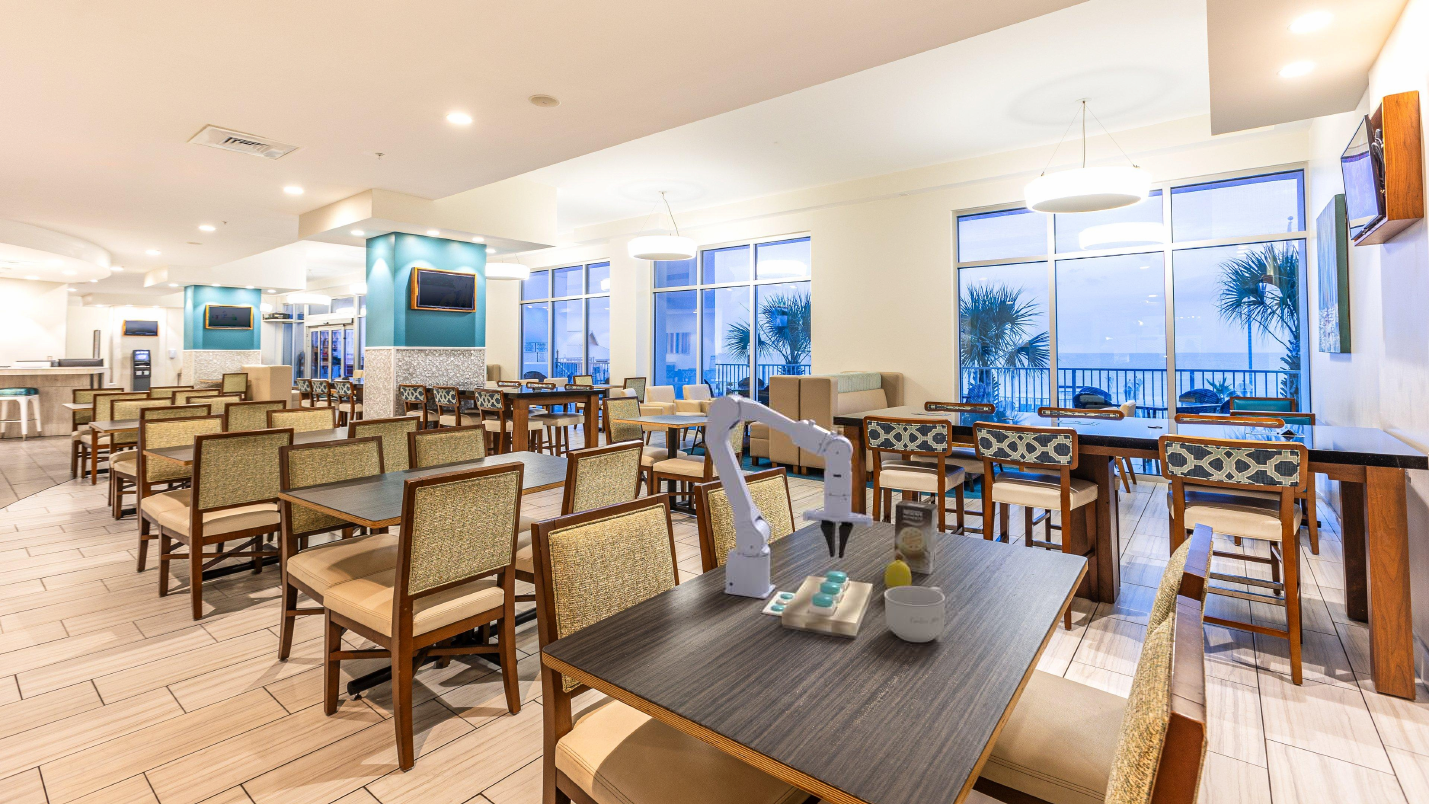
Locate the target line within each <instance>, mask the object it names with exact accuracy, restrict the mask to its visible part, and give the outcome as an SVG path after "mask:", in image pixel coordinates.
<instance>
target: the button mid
mask: <svg viewBox="0 0 1429 804" xmlns="http://www.w3.org/2000/svg"><path fill="white" fill-rule="evenodd" d="M818 593H825V594H829V595H831V596H833V600H835V601H836V603H840V602H841V600H842V598H843V589H841V588H840V585H839V584H838V583H835V582H822V583H821V584H820V589H819V591H818V592H817V594H818Z"/></svg>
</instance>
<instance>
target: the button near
mask: <svg viewBox="0 0 1429 804" xmlns="http://www.w3.org/2000/svg"><path fill="white" fill-rule="evenodd" d="M835 612H836V601H835V600H833V596H831V595H829V594H825V593H818V594H814V595H813V596H812V602H811V603H810V605H809V613H813V614H820V615H826V616H834V614H835Z"/></svg>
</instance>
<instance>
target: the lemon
mask: <svg viewBox="0 0 1429 804" xmlns="http://www.w3.org/2000/svg"><path fill="white" fill-rule="evenodd" d="M911 572H912V571H910V569H909V567H908V566H907V565H906V564H905V563H903V562H901V561H900V560H897V561H894V560H893V561H892V562H891V563H889V564H888V565H887V567H886V569H885V574H884V582H885V583H884V584H885V585H886V587H887V590H888V589H890V588H894V587H900V586H912V573H911Z"/></svg>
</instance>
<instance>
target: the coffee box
mask: <svg viewBox="0 0 1429 804" xmlns="http://www.w3.org/2000/svg"><path fill="white" fill-rule="evenodd" d="M938 507H939V505H938V504H936V503H935V504H934V503H929V502H923V501H913V500H907V499H901V500H899V501H898V502H897V503H896V504H895V513H894V514H895V516H894V517H895V518H894V520H895V521H894V543H893V544H894V550H893V552H894V553H893V562H894V561H897V560H900V561H901V562H903V563H905V564H906V565H907V566H908V567H909V569H910V572H914V573H920V574H925V575H931V573H933V572H934V570H935V569H936V568H937V567H936V566H937V565H936V563H937V559H936V558H937V537H938V535H937V533H938V513H939V512H938V509H939V508H938Z"/></svg>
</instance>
